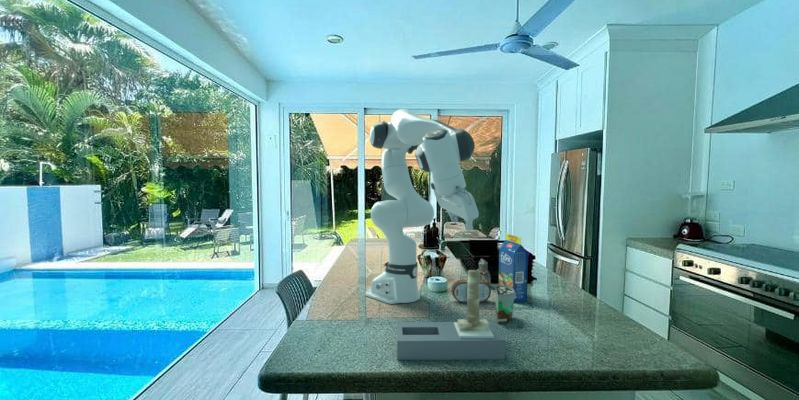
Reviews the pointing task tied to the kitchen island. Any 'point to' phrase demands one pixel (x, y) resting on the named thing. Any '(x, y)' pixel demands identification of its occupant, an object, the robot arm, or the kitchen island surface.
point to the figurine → (484, 272)
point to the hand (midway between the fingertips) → (462, 225)
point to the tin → (461, 290)
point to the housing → (447, 342)
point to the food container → (504, 303)
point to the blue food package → (514, 266)
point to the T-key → (473, 306)
